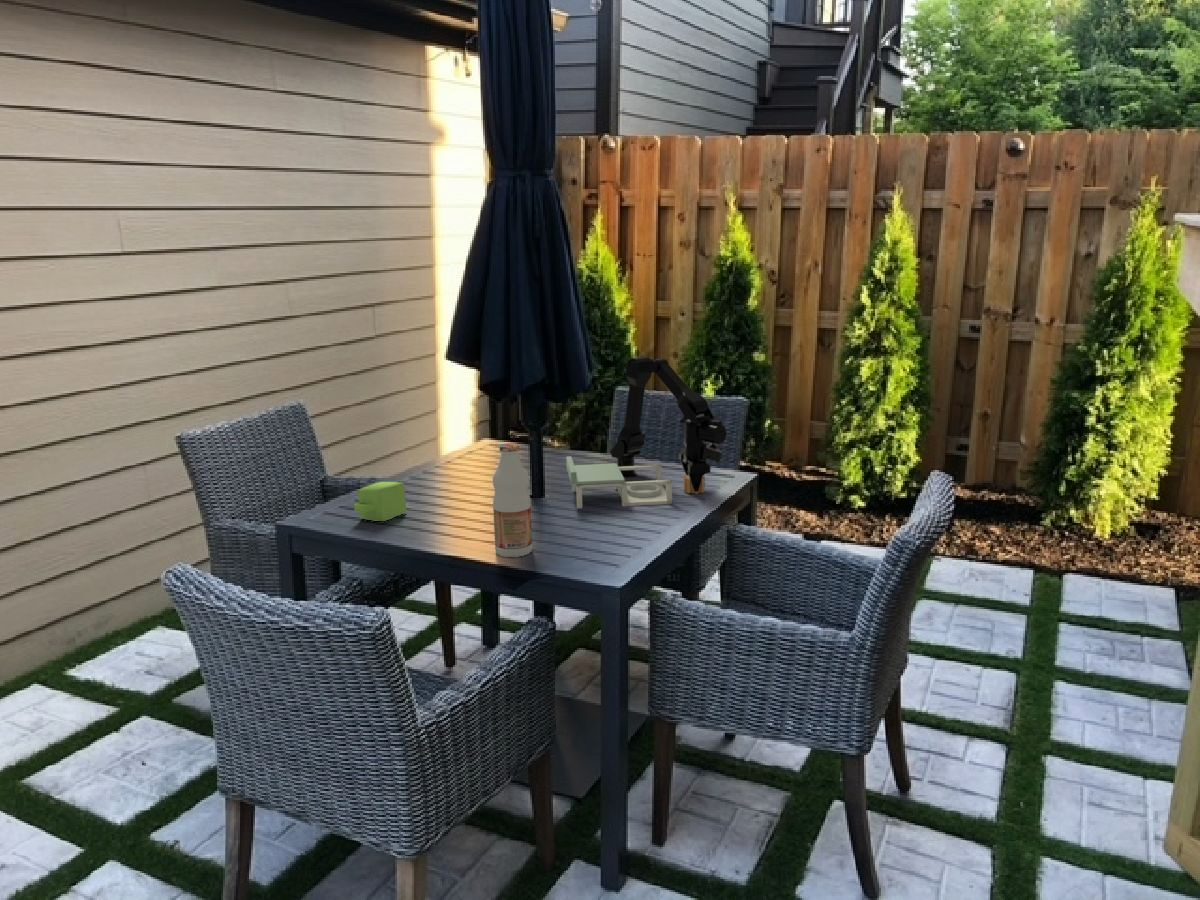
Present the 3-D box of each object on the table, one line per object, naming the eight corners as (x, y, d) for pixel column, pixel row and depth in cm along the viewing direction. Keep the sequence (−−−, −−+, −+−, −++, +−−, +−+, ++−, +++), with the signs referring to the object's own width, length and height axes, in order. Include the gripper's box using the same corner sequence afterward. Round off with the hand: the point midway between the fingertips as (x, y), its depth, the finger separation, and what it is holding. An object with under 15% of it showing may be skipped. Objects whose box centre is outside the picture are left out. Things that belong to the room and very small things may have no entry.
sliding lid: (566, 468, 294) (566, 456, 293) (616, 465, 296) (616, 454, 295) (571, 484, 276) (570, 472, 275) (624, 482, 277) (624, 469, 276)
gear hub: (682, 489, 295) (682, 473, 294) (702, 488, 296) (702, 472, 294) (686, 495, 289) (686, 479, 288) (706, 494, 290) (706, 478, 288)
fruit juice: (487, 553, 242) (482, 446, 235) (514, 543, 249) (509, 439, 242) (513, 561, 236) (509, 451, 229) (540, 550, 243) (536, 444, 236)
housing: (572, 490, 296) (571, 468, 294) (661, 486, 299) (661, 464, 297) (577, 508, 278) (576, 485, 276) (671, 503, 280) (671, 481, 279)
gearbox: (389, 507, 284) (386, 476, 283) (416, 509, 280) (413, 478, 278) (349, 523, 269) (345, 490, 267) (376, 526, 264) (373, 493, 262)
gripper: (727, 444, 280) (727, 495, 284) (713, 431, 298) (713, 479, 302) (690, 446, 279) (690, 497, 283) (678, 432, 297) (678, 480, 301)
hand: (694, 488), depth 292 cm, fingers closed on gear hub, 6 cm apart
